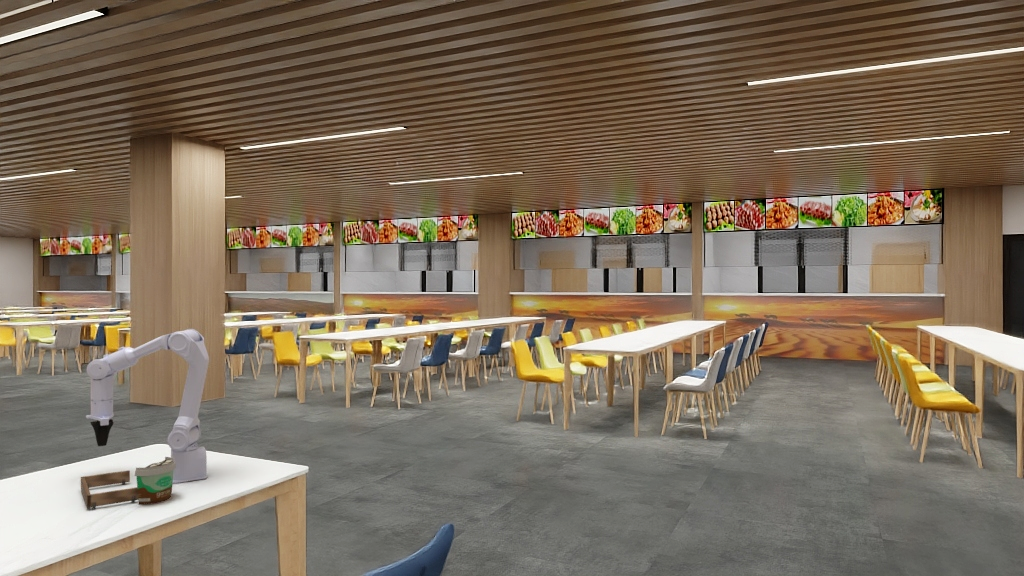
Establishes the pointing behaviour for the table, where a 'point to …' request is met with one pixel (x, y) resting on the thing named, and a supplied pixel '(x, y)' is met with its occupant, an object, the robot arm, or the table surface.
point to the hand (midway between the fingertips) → (101, 445)
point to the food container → (155, 482)
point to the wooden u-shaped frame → (110, 496)
